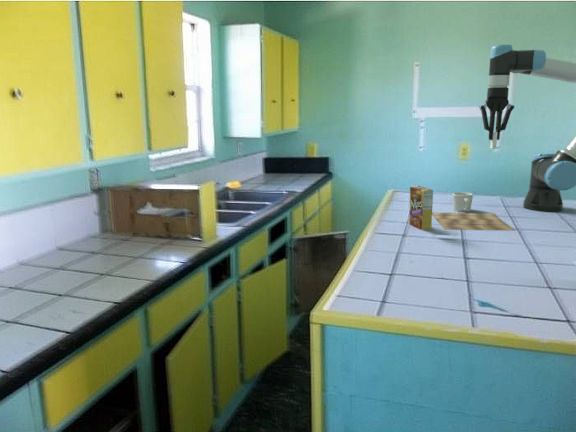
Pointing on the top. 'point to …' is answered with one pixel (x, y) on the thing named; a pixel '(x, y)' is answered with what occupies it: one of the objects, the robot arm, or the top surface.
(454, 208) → the cup
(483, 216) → the plank
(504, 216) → the top surface
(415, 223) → the candy box
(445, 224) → the laid panel
